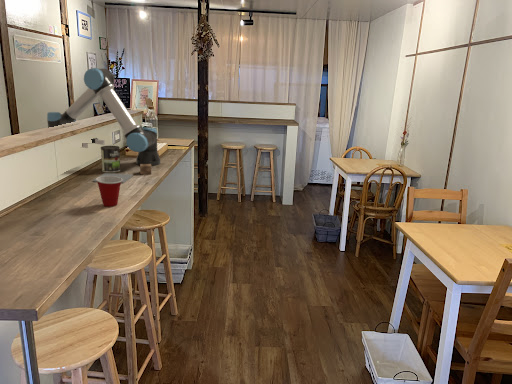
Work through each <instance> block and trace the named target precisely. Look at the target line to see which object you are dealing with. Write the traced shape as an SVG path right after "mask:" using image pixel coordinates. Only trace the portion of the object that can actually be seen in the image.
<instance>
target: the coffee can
mask: <svg viewBox="0 0 512 384" xmlns="http://www.w3.org/2000/svg"><path fill="white" fill-rule="evenodd" d="M100 153H101V154H100V156H101V168H102V169H101V171H102V172H103V173H109V174H114V173H119V172H121V157H120V156H121V155H120V153H121V152H120V146H118V145H101V147H100Z"/></svg>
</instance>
